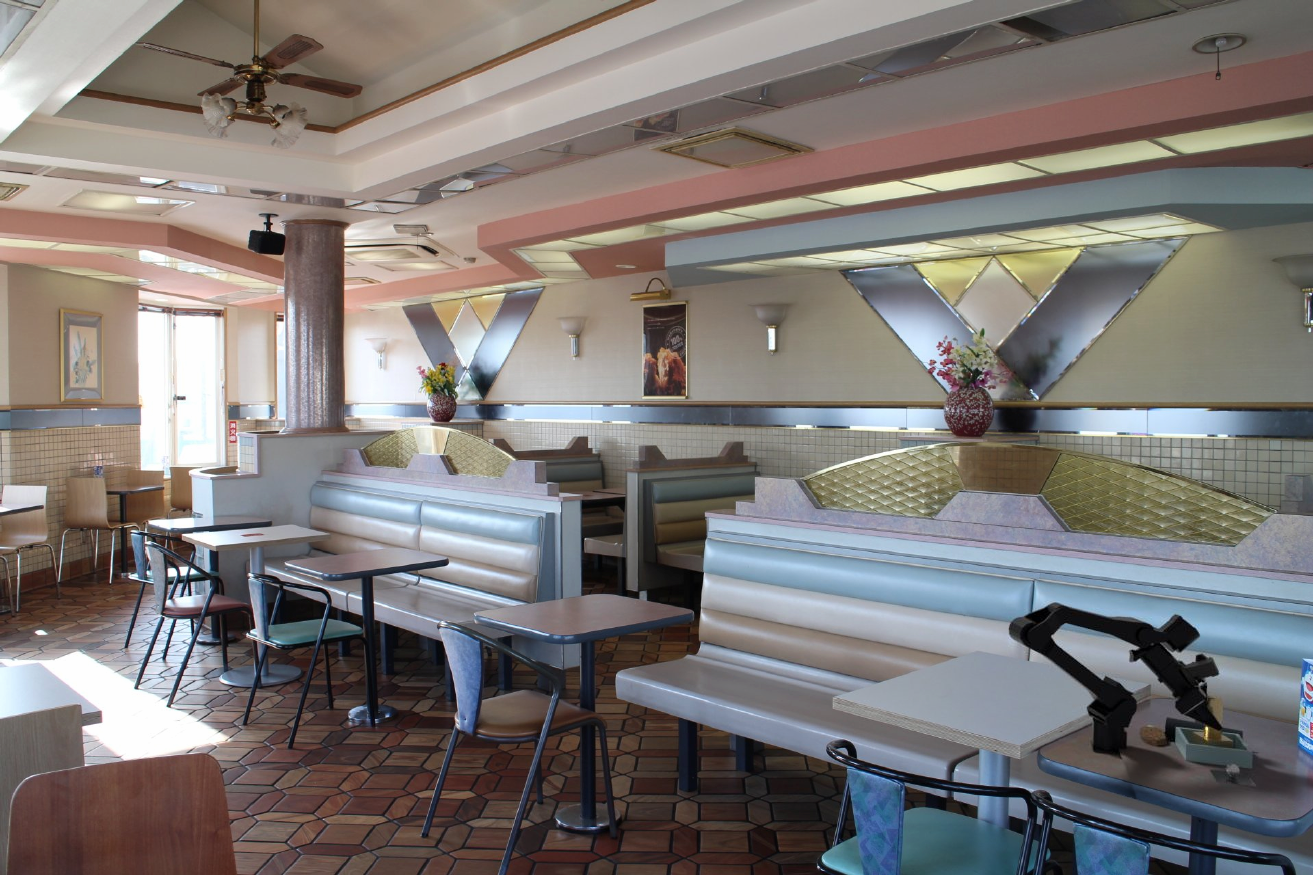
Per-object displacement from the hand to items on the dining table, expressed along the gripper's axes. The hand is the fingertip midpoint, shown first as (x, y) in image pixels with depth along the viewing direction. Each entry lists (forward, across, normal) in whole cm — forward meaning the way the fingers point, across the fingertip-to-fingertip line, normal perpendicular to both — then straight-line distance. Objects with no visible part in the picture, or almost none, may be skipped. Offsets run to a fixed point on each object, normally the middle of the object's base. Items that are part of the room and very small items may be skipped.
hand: (1220, 723), depth 206 cm
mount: (+7, -14, +4) cm, 16 cm away
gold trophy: (+4, 0, +6) cm, 8 cm away
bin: (+5, 0, +7) cm, 8 cm away
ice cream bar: (-3, +7, +15) cm, 17 cm away
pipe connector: (+4, +14, +8) cm, 16 cm away
